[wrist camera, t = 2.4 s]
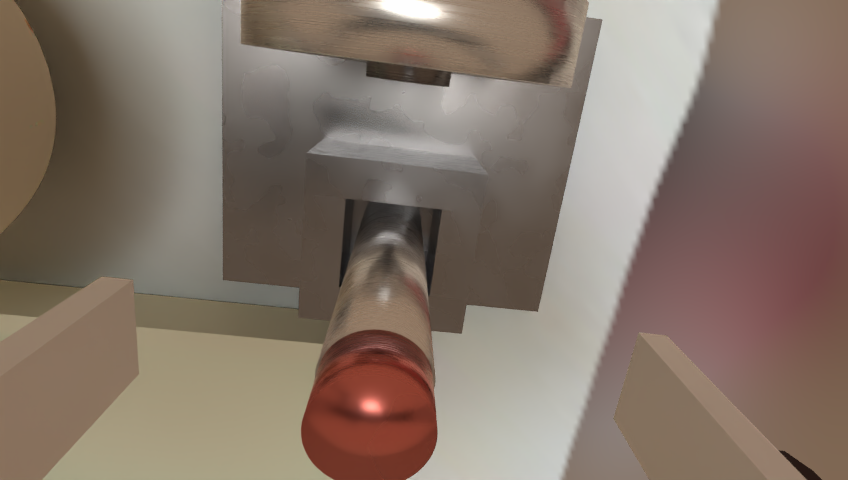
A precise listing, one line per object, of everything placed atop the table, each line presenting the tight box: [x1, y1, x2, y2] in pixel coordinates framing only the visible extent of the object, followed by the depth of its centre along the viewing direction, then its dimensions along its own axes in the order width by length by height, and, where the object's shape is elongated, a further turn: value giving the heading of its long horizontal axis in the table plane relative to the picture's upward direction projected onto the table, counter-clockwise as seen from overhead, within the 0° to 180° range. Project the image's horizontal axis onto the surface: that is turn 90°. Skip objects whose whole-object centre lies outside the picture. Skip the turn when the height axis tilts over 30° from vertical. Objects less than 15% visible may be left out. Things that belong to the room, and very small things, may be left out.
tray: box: [0, 280, 334, 480], centre depth 27 cm, size 20×14×3 cm
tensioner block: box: [222, 0, 602, 334], centre depth 18 cm, size 16×14×14 cm
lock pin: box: [301, 202, 437, 480], centre depth 17 cm, size 3×3×15 cm
